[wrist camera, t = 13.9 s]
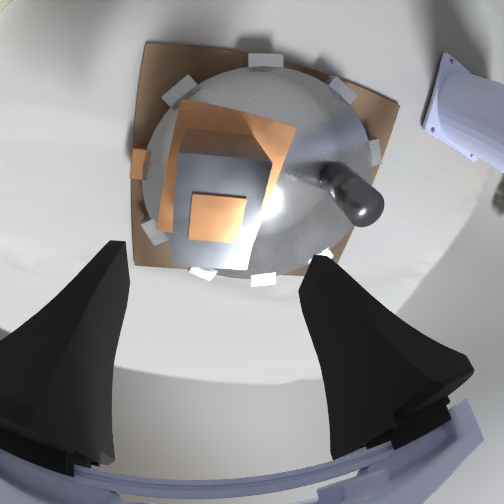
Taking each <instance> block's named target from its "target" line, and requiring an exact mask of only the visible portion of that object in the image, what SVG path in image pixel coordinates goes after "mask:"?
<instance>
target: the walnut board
mask: <svg viewBox="0 0 504 504" xmlns="http://www.w3.org/2000/svg"><path fill="white" fill-rule="evenodd" d="M246 54H248V53H244V52H238V51H232V50H226V49H219V48H211V47H202V46H191V45H176V44H146V46H145V51H144V56H143V62H142V68H141V74H140V81H139V88H138V96H137V104H136V114H135V125H134V138H133V148H134V147H135V146H136V145H137V144H140V145H147V146H148V144H149V142H150V140H151V137H152V135H153V133H154V131H155V129H156V127H157V126H158V124H159V123H160V121H161V120H162V118H163V117H164V115H165V114H166V113H167V111H168V110H169V109H170V108H171V107H170V106H169V105H168V104H167V103H166V102H165V101H164V100H163V99H162V98H161V97H162V96H163V95H164V94H165V93H167V92H168V91H169V90H170V89H171V88H172V87H174V86H175V85H176V84H177V83H178V82H179V81H181V80H182V79H183V78H184V77H186V76H187V75H188V74H189V75H190V76H191V77H192V78H193V79H194V80H195V81H196V82H197V83H198V84H200V83H202V82H203V81H205V80H207V79H209V78H211V77H214V76H216V75H218V74H221V73H223V72H227V71H231V70H235V69H239V68H245V67H246ZM283 68H287V69H292V70H297V71H299V72H302V73H305V74H308V75H310V76H313V77H315V78H317V79H318V80H320V81H322V82H324V81H325V80H326V79H327V78H328V77H329V75H328V74H325V73H322V72H319V71H316V70H312V69H309V68H306V67H303V66H299V65H296V64H292V63H288V62H285V61H283ZM340 80H341V79H340ZM341 81H342V82H344V83H345V84H346V85H347V86H348V87H349V88H350V89H351V90H352V91H353V92H354V93H355V94H356V95H357V98H356V99H355V100H354V101H353V102H352V104H351V105H350V106H351V107H352V108H353V110H354V111H355V113H356V114H357V115H358V117H359V119H360V121H361V123H362V125H363V127H364V129H365V131H366V134H367V136H369V135H373V136H375V137H377V138H378V139H379V144H380V153H381V160H382V158H383V155H384V152H385V149H386V147H387V144H388V141H389V138H390V135H391V132H392V129H393V126H394V123H395V120H396V117H397V114H398V111H399V108H400V105H398V104H396V103H394V102H392V101H390V100H388V99H386V98H384V97H382V96H380V95H377V94H375V93H373V92H371V91H369V90H366V89H364V88H362V87H359V86H357V85H354V84H352V83H349V82H347V81H344V80H341ZM379 166H380V164H379V165H375V166H372V175H371V183H370V185H371V186H372V184H373V181H374V179H375V176H376V174H377V171H378V168H379ZM147 215H149V214H148V211H147V208H146V205H145V201H144V195H143V187H142V180H140V179H133V178H132V230H133V249H134V263H135V265H137V266H150V267H163V268H176V269H188V267H185V266H171V262H172V249H171V248H170V247H169V246H168V245H167V244H166V243H165V242H163V243H160V244H158V245H155V246H154V244H153V243H152V241H151V240H150V238H149V237H148V235H147V234H146V232H145V231H144V229H143V228H142V226H141V222H142V219H143V217H145V216H147ZM354 226H355V225H353V226H352V227H351V229H350V230H349V231H348V232H347V234H346V235H345V236H344V237H343V238H342V239H341V240H340V241H339V242H338V243H337V244H336V245H335V246H334V247H333V248H332V249H331V250H330V251H331V253H332V255H333V256H334V257H332V258H331V259H332V260H333V261H334V262H335V263H338V261H339V259H340V257H341V255H342V253H343V250H344V248H345V246H346V244H347V242H348V240H349V238H350V235H351V233H352V231H353V229H354ZM309 265H310V264H308V265H306V266H304V267H301V268H299V269H296V270H294V271H292V272H288V273H285V274H281V275H296V276H305V274H306V272H307V269H308V267H309Z"/></svg>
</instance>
